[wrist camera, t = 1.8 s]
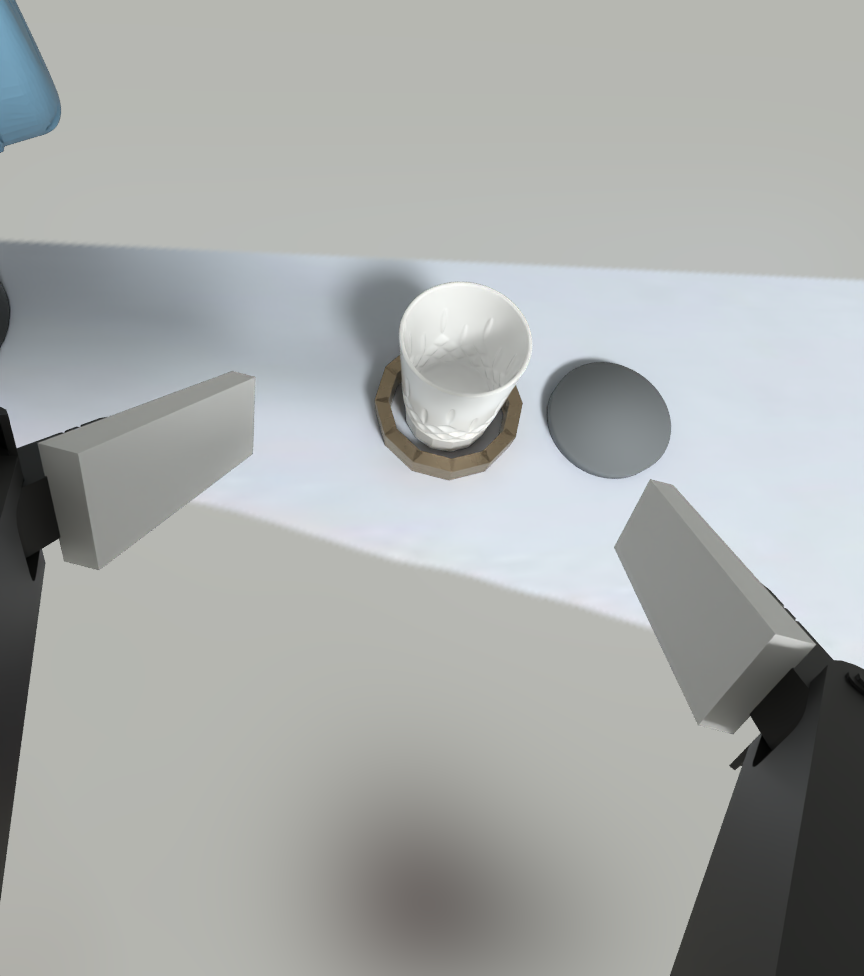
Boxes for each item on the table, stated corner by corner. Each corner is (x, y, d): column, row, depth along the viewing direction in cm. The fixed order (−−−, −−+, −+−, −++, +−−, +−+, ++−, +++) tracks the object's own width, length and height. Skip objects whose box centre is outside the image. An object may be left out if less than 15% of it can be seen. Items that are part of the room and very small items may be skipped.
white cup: (380, 394, 34) (375, 309, 25) (463, 356, 36) (488, 263, 26) (428, 475, 33) (441, 419, 23) (512, 432, 34) (557, 363, 25)
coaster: (538, 460, 34) (542, 456, 33) (557, 356, 37) (561, 349, 36) (658, 492, 34) (666, 489, 33) (667, 385, 37) (675, 379, 36)
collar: (361, 457, 33) (358, 447, 31) (398, 339, 36) (398, 324, 34) (499, 493, 33) (505, 486, 31) (524, 373, 36) (531, 359, 34)
